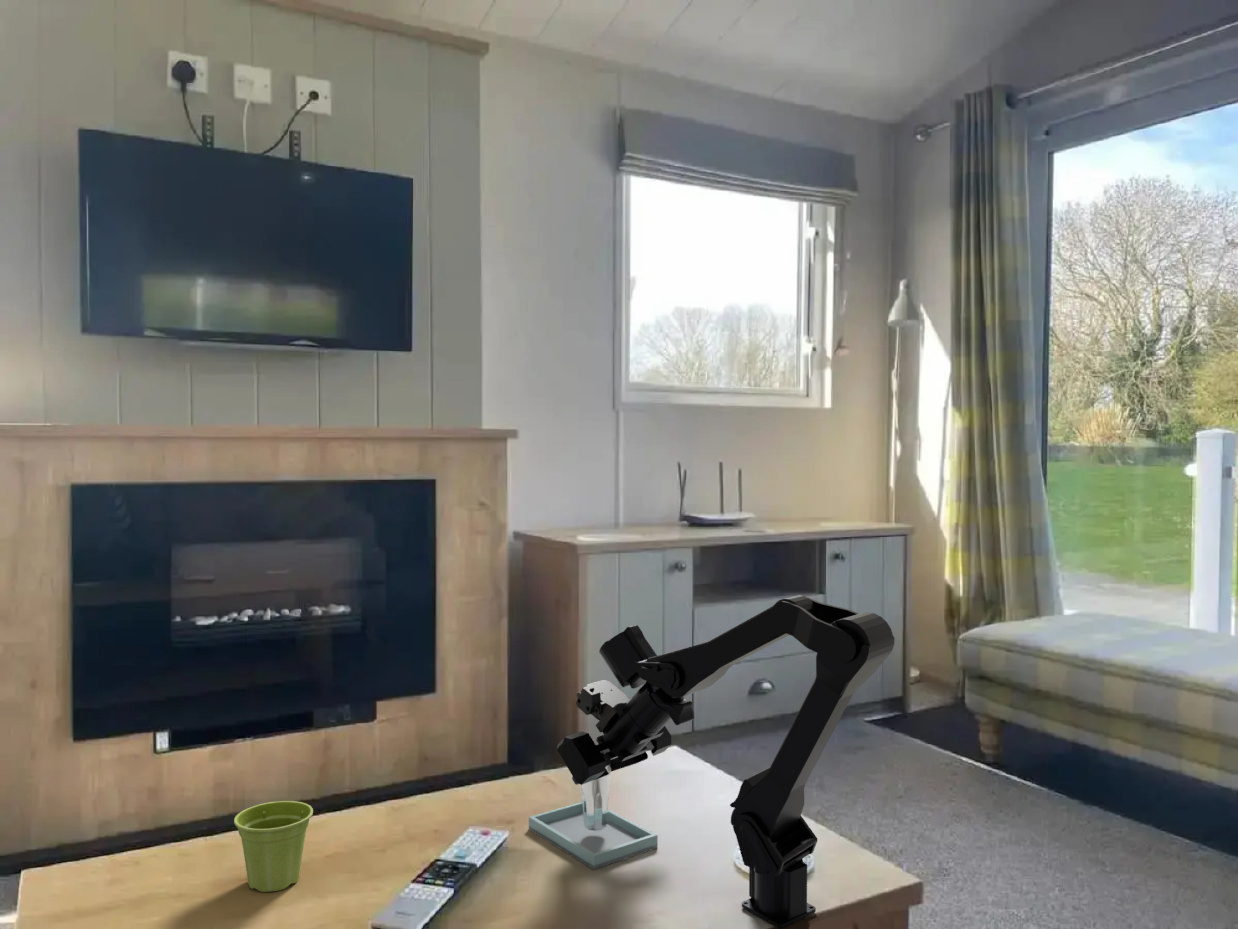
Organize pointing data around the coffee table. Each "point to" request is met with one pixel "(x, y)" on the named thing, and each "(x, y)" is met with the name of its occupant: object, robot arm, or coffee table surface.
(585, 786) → the milkshake
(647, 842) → the tray
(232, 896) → the coffee table surface
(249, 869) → the plant pot
